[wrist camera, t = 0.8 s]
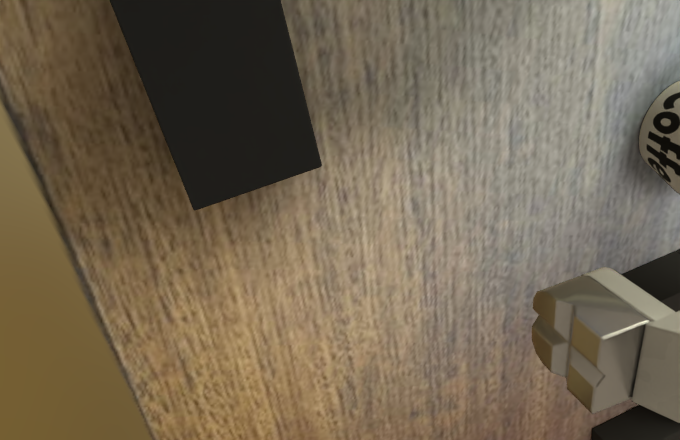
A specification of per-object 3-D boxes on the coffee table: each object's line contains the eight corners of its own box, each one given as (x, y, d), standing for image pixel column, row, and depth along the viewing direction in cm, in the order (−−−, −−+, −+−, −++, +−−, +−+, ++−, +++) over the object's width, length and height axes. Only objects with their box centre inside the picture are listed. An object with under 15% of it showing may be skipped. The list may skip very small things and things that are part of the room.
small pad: (103, -29, 19) (100, -24, 16) (245, -65, 19) (264, -66, 17) (185, 181, 23) (194, 211, 20) (301, 142, 24) (322, 167, 21)
